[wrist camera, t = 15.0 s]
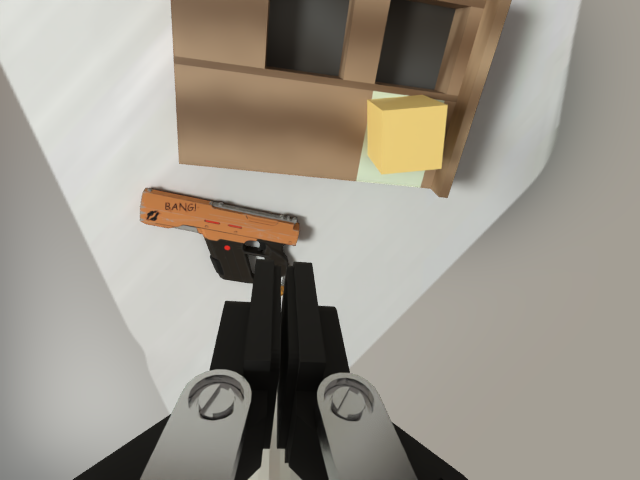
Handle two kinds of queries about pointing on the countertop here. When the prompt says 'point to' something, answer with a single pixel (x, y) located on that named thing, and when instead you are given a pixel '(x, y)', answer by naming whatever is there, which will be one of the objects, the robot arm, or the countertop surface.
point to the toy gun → (224, 230)
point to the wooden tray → (324, 80)
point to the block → (406, 133)
